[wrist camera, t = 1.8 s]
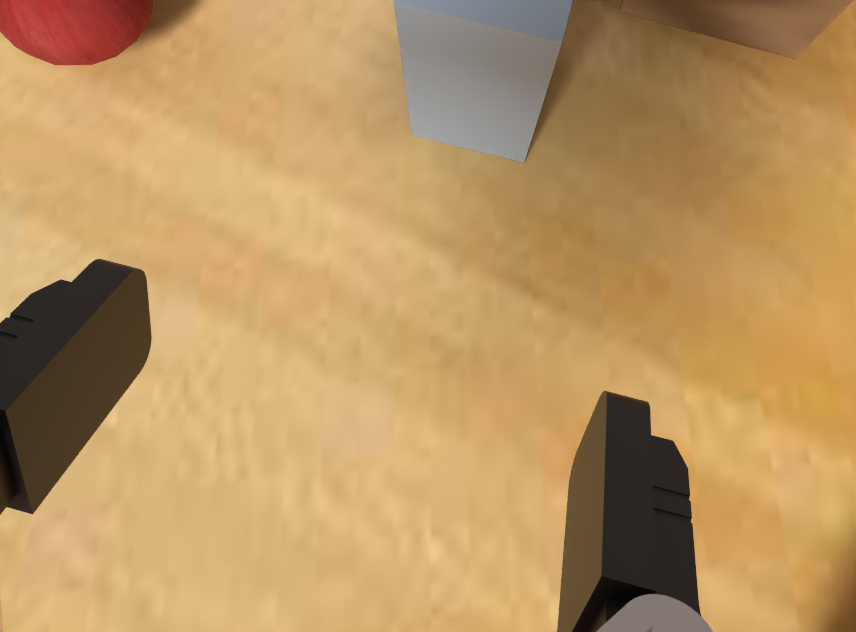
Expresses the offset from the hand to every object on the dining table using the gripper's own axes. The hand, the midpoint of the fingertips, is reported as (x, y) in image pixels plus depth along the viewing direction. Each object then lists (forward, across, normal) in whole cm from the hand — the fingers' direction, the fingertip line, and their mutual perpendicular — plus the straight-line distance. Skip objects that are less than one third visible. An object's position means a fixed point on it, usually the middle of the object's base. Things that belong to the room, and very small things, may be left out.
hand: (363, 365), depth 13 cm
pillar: (+20, 0, +3) cm, 20 cm away
